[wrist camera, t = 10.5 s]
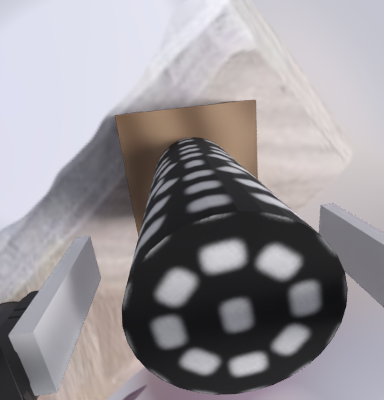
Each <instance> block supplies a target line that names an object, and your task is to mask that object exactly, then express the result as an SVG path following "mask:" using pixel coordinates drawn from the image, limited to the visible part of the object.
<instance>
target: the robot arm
mask: <svg viewBox="0 0 384 400" xmlns="http://www.w3.org/2000/svg"><path fill="white" fill-rule="evenodd" d="M319 234H320V235H321V236H322V237H323V238H324V239H325V240H326V241H327V242H328V244H329V245H330V246H331V247H332V249H333V250H334V251H335V252H336V254H337V255H338V258H339V260H340V262H341V264H342V266H343V269H344V271H345V272H346V273H347V274H348V275H349V276H350V277H351V278H352V279H354V280H355V281H356V282H357V283H358V284H359V285H360V286H361V287H362V288H363V289H364V290H365V291H366V292H368V293H369V294H370V295H371V296H372V297H373V298H374V299H375V300H376V301H377V302H378V303H380V304H381V305H382V306H383V307H384V232H383V231H381V230H379V229H378V228H376V227H374V226H372V225H371V224H369V223H367V222H365V221H364V220H362V219H360V218H358V217H357V216H355V215H353V214H351V213H350V212H348V211H346V210H344V209H343V208H341V207H339V206H338V205H336V204H334V203H332V204H324V205H321V208H320V225H319ZM100 279H101V276H100V272H99V268H98V264H97V261H96V257H95V253H94V249H93V245H92V242H91V238H90V236H86V237H79V238H75V240H74V241H73V243H72V244H71V246H70V247H69V249H68V250H67V251H66V253H65V254H64V256H63V257H62V259H61V260H60V262H59V263H58V264H57V266H56V267H55V269H54V270H53V272H52V273H51V275H50V276H49V277H48V279H47V280H46V282H45V283H44V285H43V286H42V287H41V289H40V290H39V291H33V292H31V293H29V294H28V295H27V296H26V297H24V298H23V299H22V300H21V301H20V302H11V303H4V304H0V400H37V398H38V397H39V396H40V395H45V394H51V393H57V392H58V389H59V386H60V384H61V381H62V379H63V376H64V373H65V371H66V368H67V366H68V363H69V360H70V358H71V355H72V353H73V350H74V347H75V345H76V342H77V339H78V337H79V334H80V332H81V329H82V326H83V324H84V321H85V319H86V316H87V313H88V311H89V308H90V306H91V303H92V300H93V298H94V295H95V292H96V290H97V287H98V285H99V282H100Z"/></svg>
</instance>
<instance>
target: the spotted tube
mask: <svg viewBox="0 0 384 400" xmlns="http://www.w3.org/2000/svg"><path fill="white" fill-rule="evenodd" d="M346 302H347V282H346V276H345V271H344V269H343V266H342V264H341V262H340V260H339V258H338V255H337V254H336V252H335V251H334V250H333V249H332V247H331V246H330V245H329V244H328V242H327V241H326V240H325V239H324V238H323V237H322V236H321V235H320V234H319V233H317V232H316V231H315V230H314V229H313V228H312V227H311V226H309V225H308V224H307V223H306V222H305V221H304V220H303V219H301V218H300V217H299V216H298V215H297V214H296V213H295V212H294V211H292V210H291V209H290V208H289V207H288V206H287V205H286V204H285V203H283V202H282V201H281V200H280V199H279V198H278V197H277V196H275V195H274V194H273V193H272V192H271V191H270V190H269V189H268V188H266V187H265V186H264V185H263V184H262V183H261V182H260V181H258V180H257V179H256V178H255V177H254V176H253V175H252V174H251V173H249V172H248V171H247V170H246V169H245V168H244V167H243V166H241V165H240V164H239V163H238V162H237V161H236V160H235V159H233V158H232V157H231V156H230V155H229V154H228V153H227V152H226V151H224V150H223V149H222V148H221V147H220V146H218V145H217V144H216V143H214V142H212V141H210V140H208V139H204V138H196V137H191V138H185V139H182V140H179V141H177V142H175V143H174V144H172V145H170V146H169V147H168V148H167V149H166V150H165V151H164V153H163V154H162V155H161V157H160V159H159V161H158V163H157V166H156V170H155V174H154V178H153V182H152V186H151V190H150V194H149V198H148V202H147V206H146V210H145V214H144V218H143V222H142V226H141V230H140V234H139V238H138V242H137V246H136V250H135V254H134V258H133V262H132V266H131V270H130V274H129V278H128V282H127V286H126V290H125V295H124V299H123V304H122V325H123V329H124V332H125V336H126V339H127V342H128V344H129V346H130V348H131V349H132V351H133V353H134V354H135V356H136V358H137V359H138V360H139V361H140V362H141V363H142V364H143V365H144V366H145V367H146V368H147V369H148V370H149V371H150V372H152V373H153V374H155V375H156V376H157V377H159V378H160V379H162V380H163V381H165V382H168V383H170V384H173V385H175V386H177V387H179V388H182V389H186V390H190V391H194V392H198V393H206V394H215V395H220V394H238V393H244V392H250V391H255V390H258V389H261V388H265V387H268V386H271V385H274V384H276V383H278V382H280V381H282V380H284V379H286V378H289V377H290V376H292V375H294V374H295V373H297V372H298V371H300V370H301V369H303V368H305V367H306V366H307V365H308V364H310V363H311V362H312V361H313V360H314V359H315V358H316V357H317V356H319V354H321V353H322V351H323V350H324V349H325V347H326V346H327V345H328V344H329V343H330V341H331V340H332V339H333V337H334V335H335V333H336V331H337V330H338V328H339V326H340V324H341V322H342V318H343V315H344V312H345V309H346Z"/></svg>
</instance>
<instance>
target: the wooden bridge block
mask: <svg viewBox="0 0 384 400" xmlns="http://www.w3.org/2000/svg"><path fill="white" fill-rule="evenodd" d="M115 119H116V124H117V129H118V134H119V139H120V145H121V150H122V155H123V160H124V165H125V170H126V175H127V180H128V186H129V191H130V196H131V201H132V206H133V211H134V216H135V222H136V227H137V232H138V237H139V234H140V230H141V226H142V222H143V218H144V214H145V210H146V206H147V202H148V198H149V194H150V190H151V186H152V182H153V178H154V174H155V170H156V166H157V163H158V161H159V159H160V157H161V155H162V154H163V153H164V151H165V150H166V149H167V148H168V147H169V146H170V145H172V144H174V143H175V142H177V141H179V140H182V139H185V138H191V137H196V138H204V139H208V140H210V141H212V142H214V143H216V144H217V145H218V146H220V147H221V148H222V149H223V150H224V151H226V152H227V153H228V154H229V155H230V156H231V157H232V158H233V159H235V160H236V161H237V162H238V163H239V164H240V165H241V166H243V167H244V168H245V169H246V170H247V171H248V172H249V173H251V174H252V175H253V176H254V177H255V178H256V179H257V180H258V173H257V126H256V100H245V101H233V102H224V103H220V104H212V105H203V106H194V107H185V108H176V109H167V110H158V111H149V112H135V113H126V114H121V115H115Z"/></svg>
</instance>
